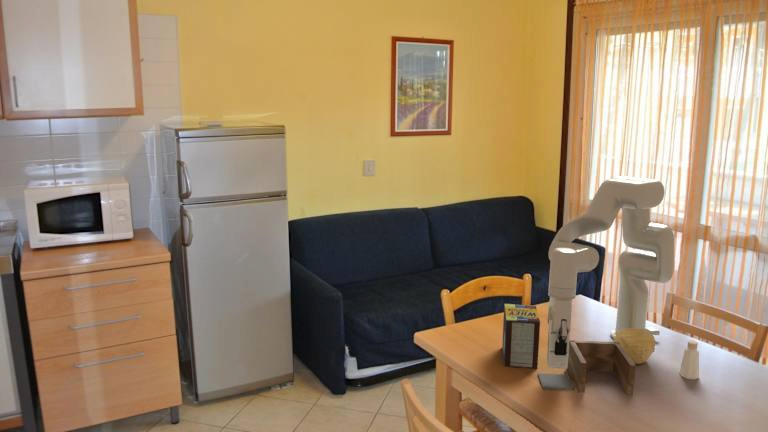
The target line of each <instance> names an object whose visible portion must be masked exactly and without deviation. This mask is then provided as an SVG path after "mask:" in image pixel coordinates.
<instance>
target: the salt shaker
mask: <svg viewBox="0 0 768 432" xmlns="http://www.w3.org/2000/svg"><path fill="white" fill-rule="evenodd" d="M698 345H699V343H698V341H696V340H692V339H691V340H687V347H685V348H684V351H683V352H684V353H683V356H682V359H681V365H680V369H679V372H678V373H679V375H680V376H681V377H682V378H684V379H686V380H697V379H700V366H699V365H700V351H699V350H698Z"/></svg>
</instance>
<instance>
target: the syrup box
mask: <svg viewBox="0 0 768 432" xmlns="http://www.w3.org/2000/svg"><path fill="white" fill-rule="evenodd" d="M551 328H552V320H551V318H550V319H549V324H548V333H547V334H548V336H547V354H546V361H547V367H548V368H552V369H562V370H563V369H565V370H568V357H569V340H570V333H571V331H570V332H569V333H567V349H566V355H565V356H564V355H555V354H554V352H555V341H556V332H553V331H552V330H551ZM567 330H568V329H567ZM558 331H562V330H561V329H559V330H558ZM560 335H561V334H560V333H559V337H560Z"/></svg>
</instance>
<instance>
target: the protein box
mask: <svg viewBox="0 0 768 432" xmlns="http://www.w3.org/2000/svg"><path fill="white" fill-rule="evenodd" d="M502 324H503V326H502V327H503V328H502V345H501V347H502V356H503V358H502V359H503V360H502V361H503V366H504V367H509V368H510V367H512V368H527V369H538V364H539V349H540V334H541V333H540V330H541V329H540V328H541V319H540V316H539V312H538V309H537V305H531V304H513V303H504V305H503V323H502Z"/></svg>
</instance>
